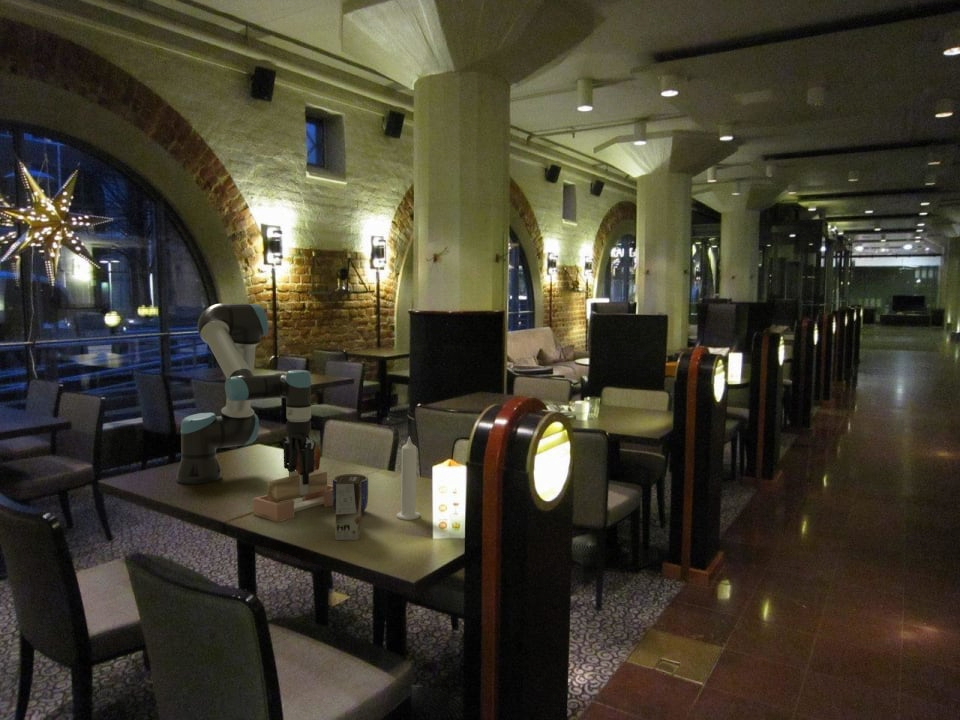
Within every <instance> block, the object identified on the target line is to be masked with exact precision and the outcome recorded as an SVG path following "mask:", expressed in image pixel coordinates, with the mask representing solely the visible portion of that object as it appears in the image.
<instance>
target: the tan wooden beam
mask: <svg viewBox="0 0 960 720" xmlns="http://www.w3.org/2000/svg"><path fill="white" fill-rule="evenodd" d="M267 484H268V485H267V486H268V487H267V488H268V489H267V490H268V491H267V492H268V494H267V495H268V501H271V502H274V503H277V504H279V503H282V502H286V501H290V500H294V499H296V498H297V499H298V498H301V497H303V496H305V495H309V494H312V493H316V492H320V491H324V490H327V484H328V471H327V470H322V469H319V470H315V471H314V472H312V473H309V484H308V494H305V495H300V474H298V475H294V476H289V475H288V476H287V477H281V478H278V479H273V480H269V481H267Z"/></svg>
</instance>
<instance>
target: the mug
mask: <svg viewBox="0 0 960 720" xmlns="http://www.w3.org/2000/svg"><path fill="white" fill-rule="evenodd" d="M319 447H320V446H319V445H318V444H316V446H315V449H314V471H315V470H320V465H321V451H320V448H319ZM296 468H297V469H298V470H295V471H298V474H300V473H301V466H300V459H299V453H298V460H297V467H296Z"/></svg>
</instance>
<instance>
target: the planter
mask: <svg viewBox="0 0 960 720" xmlns="http://www.w3.org/2000/svg"><path fill="white" fill-rule="evenodd" d="M347 475H358V476H361V515H362V514H363V513H364V512H365V510H366V509H367V506H368V501H369V477H368V476H367V475H365V474H359V473H345V474H339V475H336V476H334V477H333V478H332V485H333V505H332V506H333V508H334V510H335V511H336V482H337V480H338V479H339V477H340V476H347Z"/></svg>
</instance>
